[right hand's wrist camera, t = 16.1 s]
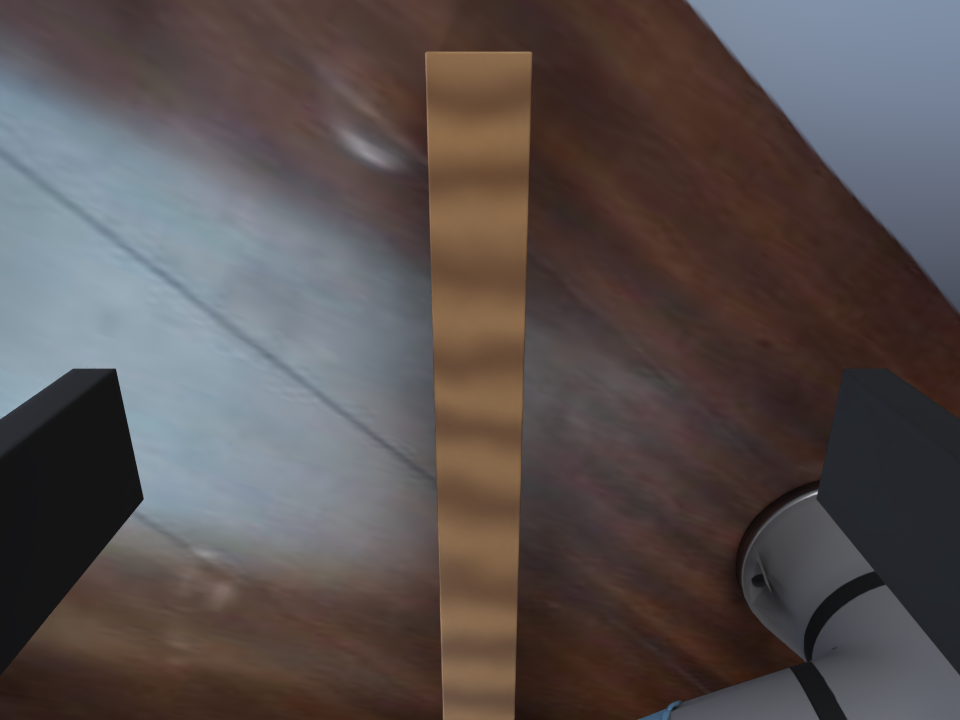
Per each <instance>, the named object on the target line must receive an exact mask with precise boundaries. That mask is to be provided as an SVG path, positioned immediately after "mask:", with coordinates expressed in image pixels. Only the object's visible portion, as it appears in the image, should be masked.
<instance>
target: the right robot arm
mask: <svg viewBox="0 0 960 720" xmlns="http://www.w3.org/2000/svg"><path fill="white" fill-rule="evenodd" d="M143 499H144V498H143V493H142V489H141V484H140V479H139V475H138V470H137V465H136V461H135V456H134V451H133V447H132V442H131V437H130V433H129V428H128V423H127V419H126V414H125V409H124V405H123V400H122V395H121V391H120V386H119V381H118V377H117V372H116V369H72V370H71V371H69V372H68V373H66V374H65V375H63V376H62V377H61V378H59V379H58V380H56V381H55V382H53V383H52V384H51V385H49V386H48V387H46V388H45V389H43V390H42V391H40V392H39V393H38V394H36V395H35V396H33V397H32V398H30V399H29V400H28V401H26V402H25V403H23V404H22V405H20V406H19V407H17V408H16V409H15V410H13V411H12V412H10V413H9V414H7V415H6V416H4V417H3V418H2V419H0V675H1V674H2V673H3V671H4V670H5V669H6V668H7V667H8V665H9V664H10V663H11V662H12V660H13V659H14V658H15V657H16V656H17V654H18V653H19V652H20V651H21V649H22V648H23V647H24V646H25V644H26V643H27V642H28V641H29V640H30V638H31V637H32V636H33V635H34V633H35V632H36V631H37V630H38V628H39V627H40V626H41V625H42V624H43V622H44V621H45V620H46V619H47V617H48V616H49V615H50V614H51V613H52V611H53V610H54V609H55V608H56V606H57V605H58V604H59V603H60V601H61V600H62V599H63V598H64V597H65V595H66V594H67V593H68V592H69V590H70V589H71V588H72V587H73V585H74V584H75V583H76V582H77V581H78V579H79V578H80V577H81V576H82V574H83V573H84V572H85V571H86V570H87V568H88V567H89V566H90V565H91V563H92V562H93V561H94V560H95V558H96V557H97V556H98V555H99V554H100V552H101V551H102V550H103V549H104V547H105V546H106V545H107V544H108V542H109V541H110V540H111V539H112V538H113V536H114V535H115V534H116V533H117V531H118V530H119V529H120V528H121V527H122V525H123V524H124V523H125V522H126V520H127V519H128V518H129V517H130V515H131V514H132V513H133V512H134V511H135V509H136V508H137V507H138V506H139V504H140V503H141V502H142V501H143ZM736 574H737V580H738V584H739V587H740V590H741V592H742V594H743V596H744V598H745V599H746V601H747V603H748V605H749V607H750V609H751V610H752V612H753V613H754V614H755V616H756V617H757V618H758V619H759V620H760V622H761V623H762V624H763V625H764V626H765V627H766V628H767V629H769V630H770V631H771V632H772V633H773V634H774V635H775V636H777V637H778V638H779V639H780V640H781V641H782V642H784V643H785V644H786V645H787V646H788V647H789V648H790V649H792V650H793V651H794V652H795V653H796V654H797V655H799V656H800V657H801V658H802V659H803V660H804V661H806V663H803V664H800V665H797V666H794V667H790V668H786V669H783V670H780V671H777V672H774V673H771V674H768V675H765V676H762V677H759V678H756V679H752V680H749V681H746V682H743V683H740V684H737V685H734V686H731V687H728V688H725V689H722V690H718V691H715V692H712V693H709V694H706V695H703V696H700V697H697V698H694V699H691V700H688V701H684V702H682V701H681V700H679V701H676V702H673V703H671V704H670V705H669V706H668V707H667V708H666V709H664V710H661V711H659V712H656V713H654V714H651V715H649V716H646V717H644V718H641V719H638V720H960V419H958V418H957V417H956V416H954V415H953V414H951V413H950V412H948V411H947V410H945V409H944V408H943V407H941V406H940V405H938V404H937V403H935V402H934V401H932V400H931V399H930V398H928V397H927V396H925V395H924V394H922V393H921V392H920V391H918V390H917V389H915V388H914V387H912V386H911V385H909V384H908V383H907V382H905V381H904V380H902V379H901V378H899V377H898V376H897V375H895V374H894V373H892V372H891V371H889V370H888V369H844V372H843V377H842V381H841V386H840V391H839V395H838V400H837V405H836V409H835V414H834V419H833V423H832V428H831V433H830V437H829V442H828V447H827V451H826V456H825V461H824V465H823V470H822V475H821V479H820V480H819V481H815V482H812V483H809V484H806V485H803V486H801V487H799V488H796V489H794V490H792V491H790V492H788V493H786V494H785V495H783V496H782V497H780V498H778V499H777V500H776V501H774V502H773V503H772V504H770V505H769V506H768V507H767V508H766V509H765V510H763V512H762V513H761V514H760V515H759V516H758V517H757V518H756V519H755V520H754V522H753V523H752V524H751V526H750V527H749V529H748V530H747V532H746V534H745V535H744V537H743V539H742V542H741V544H740V547H739V551H738V555H737V561H736Z"/></svg>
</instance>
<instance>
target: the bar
mask: <svg viewBox="0 0 960 720" xmlns="http://www.w3.org/2000/svg"><path fill="white" fill-rule="evenodd" d="M425 61H426V99H427V137H428V174H429V212H430V249H431V287H432V324H433V362H434V400H435V437H436V475H437V512H438V550H439V588H440V625H441V663H442V700H443V720H515V683H516V646H517V609H518V571H519V534H520V496H521V459H522V421H523V384H524V347H525V309H526V272H527V234H528V197H529V159H530V122H531V84H532V52H426V53H425Z"/></svg>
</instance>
